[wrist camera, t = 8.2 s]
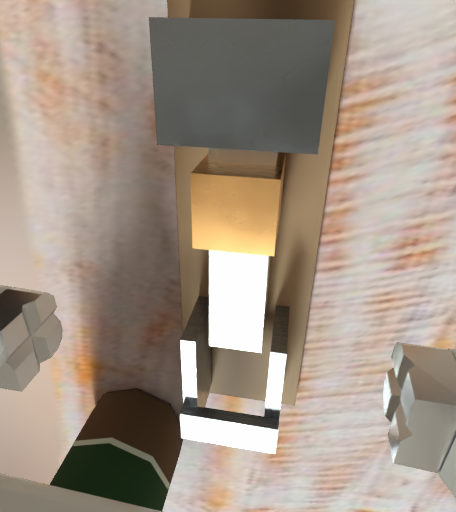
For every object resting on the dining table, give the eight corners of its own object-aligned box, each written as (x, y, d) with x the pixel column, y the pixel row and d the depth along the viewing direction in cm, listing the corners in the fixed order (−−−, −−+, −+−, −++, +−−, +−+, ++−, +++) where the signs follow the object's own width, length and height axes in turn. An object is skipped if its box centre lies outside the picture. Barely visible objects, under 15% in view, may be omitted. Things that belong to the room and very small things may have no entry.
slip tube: (294, 53, 16) (291, 57, 12) (270, 320, 23) (263, 378, 19) (215, 51, 17) (187, 54, 13) (214, 313, 24) (195, 368, 20)
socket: (327, 26, 16) (335, 19, 12) (315, 128, 18) (317, 154, 14) (188, 23, 17) (148, 17, 13) (190, 121, 19) (157, 144, 14)
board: (352, -1, 16) (354, -4, 15) (295, 394, 27) (294, 405, 26) (174, -2, 17) (166, -5, 16) (188, 378, 28) (185, 389, 27)
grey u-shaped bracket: (289, 306, 23) (286, 364, 19) (279, 392, 26) (274, 457, 22) (198, 296, 23) (176, 349, 19) (200, 380, 27) (181, 441, 23)
